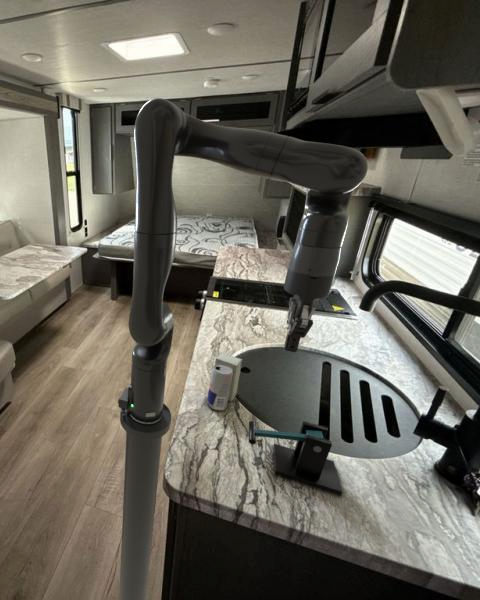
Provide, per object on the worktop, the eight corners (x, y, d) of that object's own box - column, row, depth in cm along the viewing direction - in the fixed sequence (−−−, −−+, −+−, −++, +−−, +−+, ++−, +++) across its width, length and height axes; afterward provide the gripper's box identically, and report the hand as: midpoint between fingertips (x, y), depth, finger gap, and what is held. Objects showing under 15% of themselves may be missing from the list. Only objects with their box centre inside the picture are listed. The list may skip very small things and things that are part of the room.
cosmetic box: (236, 394, 91) (243, 359, 86) (231, 402, 88) (238, 366, 83) (215, 385, 95) (221, 351, 90) (209, 392, 92) (215, 357, 87)
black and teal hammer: (249, 445, 68) (248, 437, 67) (249, 427, 73) (248, 418, 72) (325, 455, 62) (325, 445, 61) (320, 434, 67) (319, 424, 66)
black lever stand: (275, 474, 66) (286, 436, 62) (273, 447, 73) (283, 411, 69) (340, 496, 62) (357, 456, 58) (332, 465, 69) (346, 427, 65)
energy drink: (209, 396, 90) (214, 361, 86) (228, 402, 88) (235, 366, 83) (204, 406, 86) (210, 370, 82) (224, 413, 84) (231, 377, 79)
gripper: (285, 258, 64) (268, 332, 70) (292, 275, 53) (271, 361, 59) (327, 262, 61) (306, 339, 68) (344, 281, 50) (316, 371, 56)
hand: (290, 349), depth 63 cm, fingers closed
